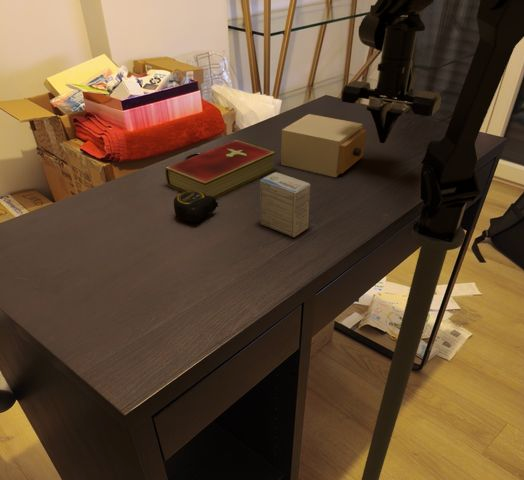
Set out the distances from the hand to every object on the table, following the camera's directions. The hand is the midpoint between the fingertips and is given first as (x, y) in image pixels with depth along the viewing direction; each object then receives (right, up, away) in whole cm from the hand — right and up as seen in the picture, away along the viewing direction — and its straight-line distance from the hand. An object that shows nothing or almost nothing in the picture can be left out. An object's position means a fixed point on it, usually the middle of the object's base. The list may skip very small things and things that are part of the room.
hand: (382, 142), depth 100 cm
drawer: (-10, 0, +8) cm, 13 cm away
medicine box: (-21, -21, -12) cm, 32 cm away
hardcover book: (-34, -6, +4) cm, 35 cm away
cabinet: (-12, 0, +10) cm, 15 cm away
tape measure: (-38, -18, -9) cm, 43 cm away
